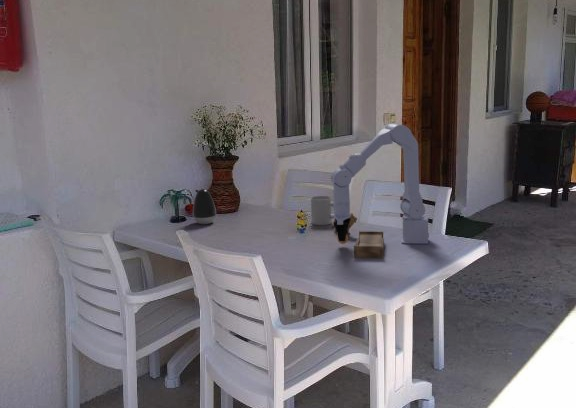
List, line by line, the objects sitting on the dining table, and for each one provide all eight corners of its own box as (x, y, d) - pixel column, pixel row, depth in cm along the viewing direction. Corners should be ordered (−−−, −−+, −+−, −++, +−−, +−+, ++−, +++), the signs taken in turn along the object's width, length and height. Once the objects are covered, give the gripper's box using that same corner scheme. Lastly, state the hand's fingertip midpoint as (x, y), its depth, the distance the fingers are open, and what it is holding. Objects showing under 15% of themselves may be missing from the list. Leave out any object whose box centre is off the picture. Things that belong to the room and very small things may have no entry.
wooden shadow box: (384, 242, 219) (384, 231, 218) (382, 257, 201) (382, 245, 200) (358, 242, 221) (358, 231, 220) (354, 257, 203) (353, 245, 202)
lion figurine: (359, 235, 230) (359, 213, 228) (348, 237, 228) (348, 215, 226) (336, 228, 242) (335, 207, 241) (325, 230, 240) (325, 209, 238)
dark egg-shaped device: (207, 219, 268) (205, 186, 265) (221, 222, 260) (219, 188, 257) (188, 223, 261) (186, 189, 258) (202, 227, 254) (199, 192, 250)
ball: (348, 242, 217) (348, 231, 216) (347, 245, 213) (347, 234, 212) (337, 242, 218) (337, 231, 217) (336, 245, 214) (336, 234, 213)
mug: (307, 224, 252) (306, 198, 249) (318, 219, 258) (318, 195, 256) (331, 227, 245) (330, 201, 242) (342, 222, 251) (341, 197, 249)
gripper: (332, 198, 220) (334, 233, 223) (328, 207, 206) (329, 244, 209) (352, 198, 219) (352, 234, 222) (348, 206, 205) (349, 244, 208)
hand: (342, 239), depth 215 cm, fingers closed on ball, 4 cm apart
